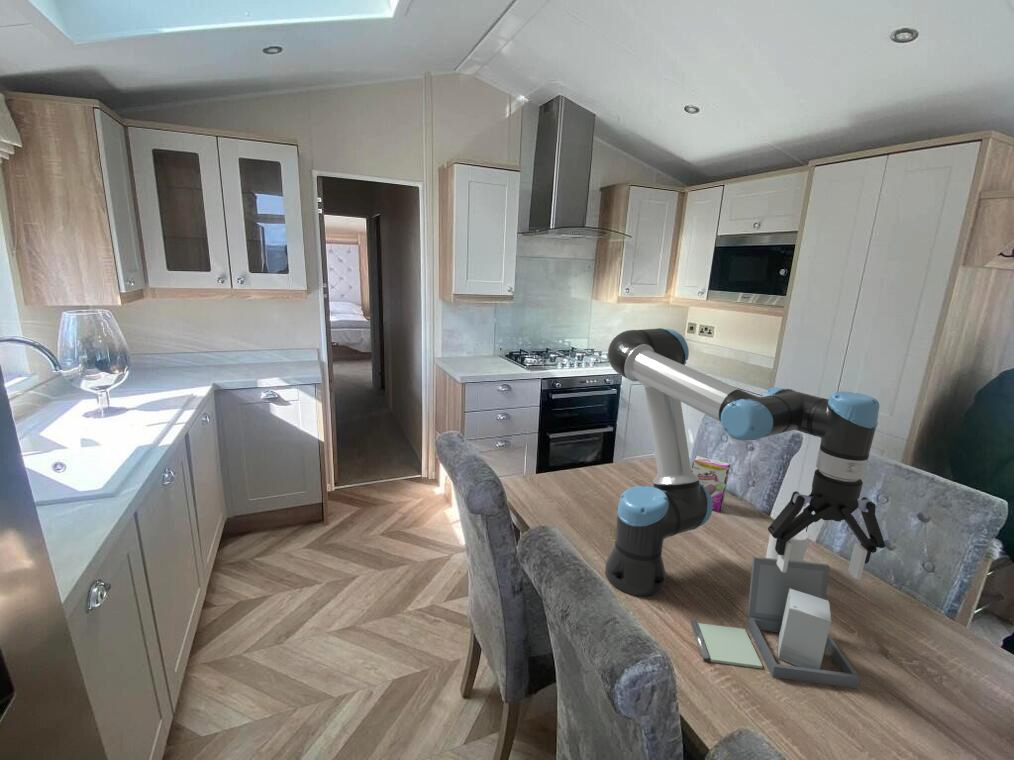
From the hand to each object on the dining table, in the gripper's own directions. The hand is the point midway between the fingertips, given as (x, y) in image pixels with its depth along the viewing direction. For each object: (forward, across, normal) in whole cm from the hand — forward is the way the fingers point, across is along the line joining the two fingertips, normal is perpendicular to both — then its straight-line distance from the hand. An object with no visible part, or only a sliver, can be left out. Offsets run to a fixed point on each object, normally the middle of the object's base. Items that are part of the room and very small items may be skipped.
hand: (817, 572), depth 93 cm
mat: (+20, -14, 0) cm, 25 cm away
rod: (+20, -20, 0) cm, 28 cm away
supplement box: (+20, 0, 0) cm, 20 cm away
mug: (+20, +12, +33) cm, 41 cm away
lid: (+11, 0, +8) cm, 13 cm away
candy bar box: (+20, -2, +63) cm, 66 cm away
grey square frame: (+20, 0, 0) cm, 20 cm away
